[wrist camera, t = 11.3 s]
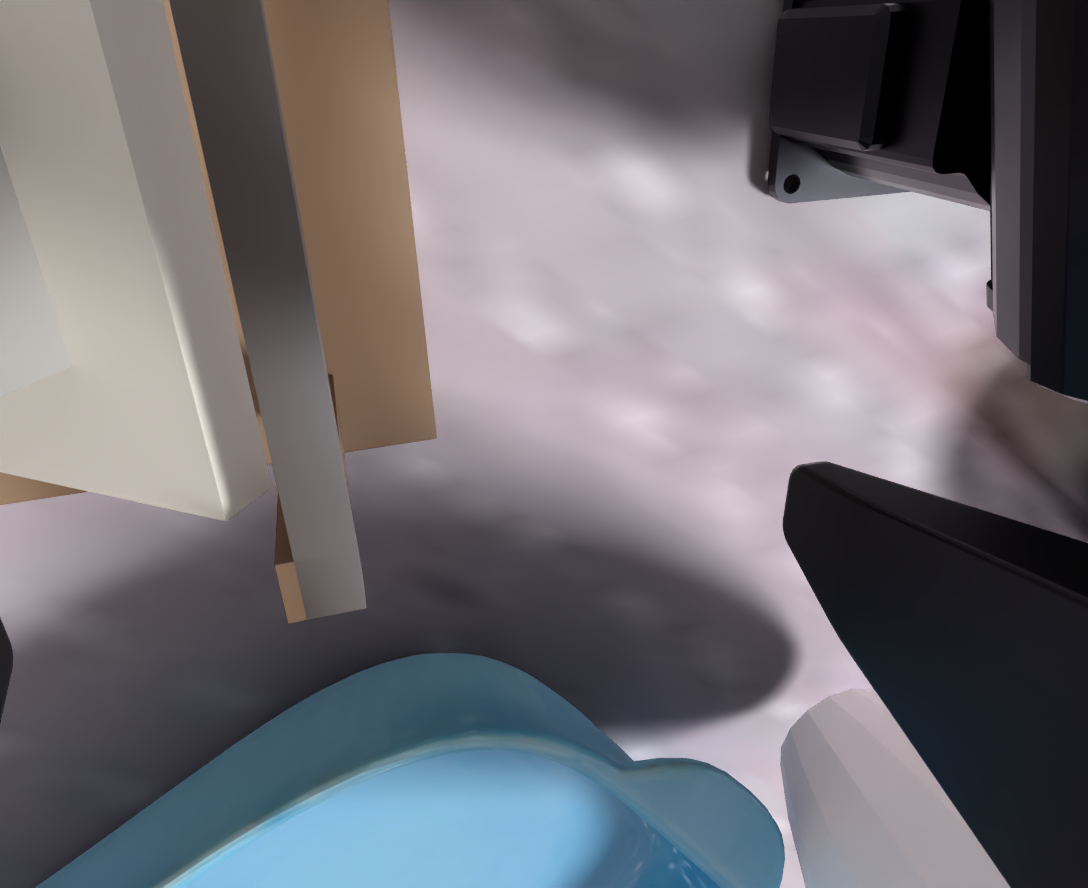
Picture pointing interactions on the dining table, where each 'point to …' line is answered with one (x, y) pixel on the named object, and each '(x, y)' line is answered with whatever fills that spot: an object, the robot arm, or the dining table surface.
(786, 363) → the dining table surface
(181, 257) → the trapdoor
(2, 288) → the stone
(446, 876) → the casserole dish
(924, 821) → the cup
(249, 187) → the trapdoor stand
